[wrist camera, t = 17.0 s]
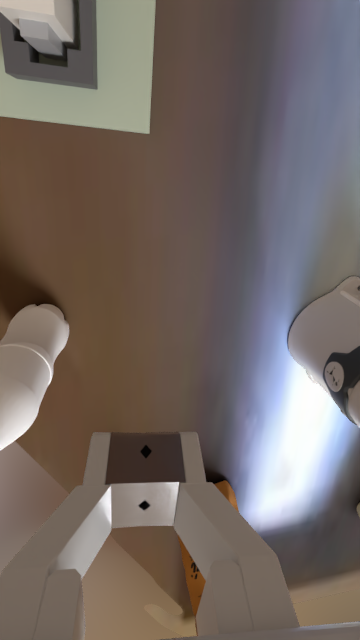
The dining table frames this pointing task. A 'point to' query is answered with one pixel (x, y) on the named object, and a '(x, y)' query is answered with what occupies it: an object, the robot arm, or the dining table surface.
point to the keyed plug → (45, 24)
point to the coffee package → (192, 572)
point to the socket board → (85, 70)
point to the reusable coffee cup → (358, 509)
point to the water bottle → (28, 366)
